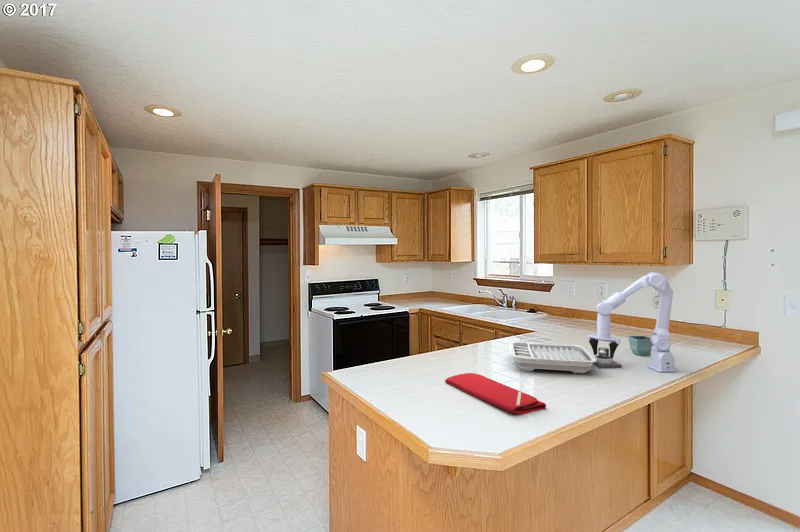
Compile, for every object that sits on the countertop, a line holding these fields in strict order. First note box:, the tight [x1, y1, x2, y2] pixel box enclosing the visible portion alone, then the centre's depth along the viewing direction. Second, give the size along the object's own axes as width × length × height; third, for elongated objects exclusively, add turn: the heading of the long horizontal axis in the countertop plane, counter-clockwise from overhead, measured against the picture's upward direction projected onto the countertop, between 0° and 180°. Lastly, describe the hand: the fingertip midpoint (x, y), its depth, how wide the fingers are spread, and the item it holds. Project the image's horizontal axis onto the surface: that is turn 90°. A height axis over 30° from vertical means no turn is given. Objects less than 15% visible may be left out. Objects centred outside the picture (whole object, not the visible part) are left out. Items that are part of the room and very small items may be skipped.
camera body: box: [593, 353, 623, 369], centre depth 198 cm, size 14×10×4 cm
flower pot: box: [628, 335, 653, 356], centre depth 215 cm, size 9×9×9 cm
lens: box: [597, 347, 610, 359], centre depth 198 cm, size 5×5×6 cm
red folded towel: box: [444, 372, 547, 415], centre depth 159 cm, size 16×41×4 cm, turn 27°
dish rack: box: [508, 341, 597, 374], centre depth 196 cm, size 32×37×8 cm
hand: (603, 356), depth 198 cm, fingers open, 7 cm apart
